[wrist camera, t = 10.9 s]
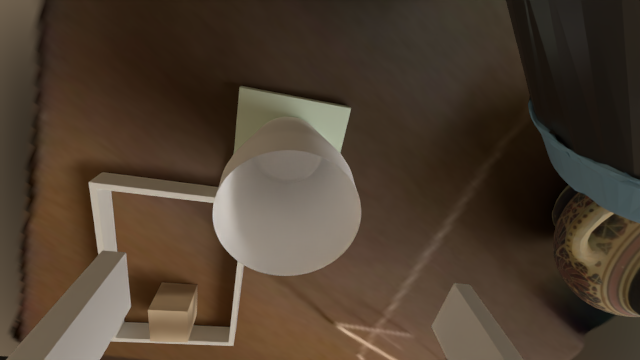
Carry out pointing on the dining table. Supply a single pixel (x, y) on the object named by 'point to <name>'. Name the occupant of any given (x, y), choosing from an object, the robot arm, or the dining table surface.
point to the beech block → (173, 312)
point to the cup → (286, 201)
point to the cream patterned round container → (597, 253)
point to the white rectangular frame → (107, 242)
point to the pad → (288, 114)
